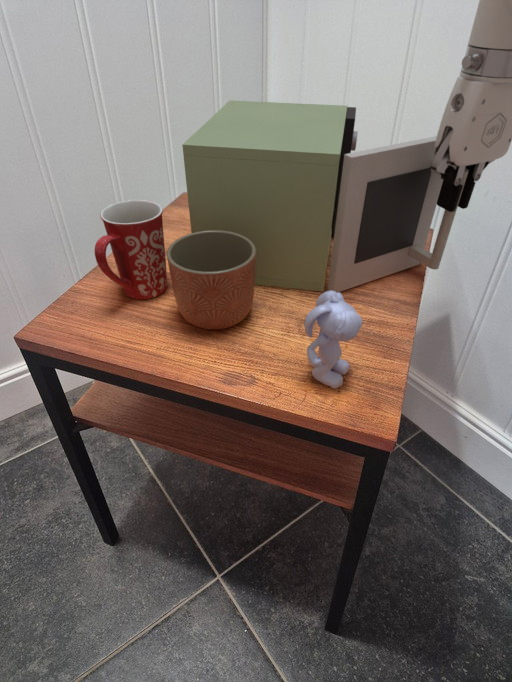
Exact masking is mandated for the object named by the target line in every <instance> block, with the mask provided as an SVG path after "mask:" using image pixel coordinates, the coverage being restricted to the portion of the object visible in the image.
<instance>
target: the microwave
mask: <svg viewBox="0 0 512 682" xmlns="http://www.w3.org/2000/svg"><path fill="white" fill-rule="evenodd" d="M356 115H357V107H356V106H348V105H340V104H318V103H317V104H315V103H297V102H296V103H293V102H270V101H268V102H267V101H249V100H229V101H227V102H226V103H225V104H224V105H223V106H222V107H220V109H219V110H217V112H215V113H214V114H213V115H212V116H211V117H210V118H208V120H206V122H205V123H204V124H203V125H201V126H200V127H199V128H198V129H197V130H196V131H195V132H194V133H193V134H192V135H191V136H190V137H189V138H188V139H186V141H184V142H183V143H182V155H183V165H184V175H185V183H186V184H185V185H186V193H187V203H188V212H189V213H188V214H189V222H190V230H191V231H190V232H191V233H195V232H200V231H208V230H221V231H229V232H234V233H237V234H240V235H242V236H244V237H246V238H248V239H249V240H250V241H251V242H252V243H253V244H254V246H255V248H256V261H255V285H254V286H265V287H275V288H285V289H292V290H293V289H294V290H303V291H312V292H321V293H324V292H325V284H326V279H327V277H326V276H327V271H328V265H329V264H328V263H329V257H330V248H331V240H332V237H334V233H335V225H336V217H337V209H338V201H339V193H340V185H341V177H342V170H343V162H344V154H348V153H352V151H353V152H356V148H357V142H358V134H359V131H358V130H355V124H356V117H357V116H356ZM191 233H190V234H191Z"/></svg>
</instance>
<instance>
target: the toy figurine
mask: <svg viewBox="0 0 512 682" xmlns="http://www.w3.org/2000/svg"><path fill="white" fill-rule="evenodd" d="M315 323H317V326H318V327H319V332H318V336H316V337H317V338H315V340H313V341H312V342H311V343H310V344H309V345H308V347H307V348H306V357H307V359H308V362H309V364H310V365H311V366H312V367H313V369H312V370H311V375H312V377H313V378H314V379H315V380H316V381H317V382H319V383H321V384H323V385H325V386H328V387H330V388H331V389H338V388H339V387H342V386H343V384H344V378H343V376H342V375H346V374H347V373H348V372H349V371H350V364H349V361H347V360H345V359H342V358H341V357H342V356H343V353H342V352H343V351H342V348H341V344H340V342H348V341H351V340H354V339H355V338H356V337H357V336H358V334H359V333H360V330H361V328H362V326H363V320H362V317H361V315H360V314H359V313H358V312H357V310H356V309H355V308H354V307H353V306H352V305H351V304H350V303H348V302H346V301H345V298H344V296H343V295H342V292H338V293H336V292H335V291H333V290H330V291H329V290H326V291H324V292H322V293H321V294H320V295H319V296H318V297H317V299H316V302H315V306H314V308H312V309H311V310H310V311H309V312H308V313H307V315H306V317H305V319H304V331H305V333H306V336H307V337H308V338H312V337H313V328H314V325H315ZM317 348H318V354H317V351H316V349H317Z"/></svg>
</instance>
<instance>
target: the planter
mask: <svg viewBox="0 0 512 682" xmlns="http://www.w3.org/2000/svg"><path fill="white" fill-rule="evenodd" d="M166 260H167V264H168V269H169V270H168V271H169V275H170V281H171V285H172V291H173V294H174V299H175V303H176V306H177V308H178V309H177V310H178V311H179V313H180V315H181V316H182V318H183V319H184V320H185V321H187V322H188V323H189V324H191V325H193V326H195V327H198V328H199V329H205V330H222V329H223V330H224V329H227V328H231V327H233V326H235V325H238V324H239V323H241V322H242V321H243V320H244V319H245V318H246V317H247V316H248V315H249V314H250V311H251V309H252V306H253V302H254V296H255V286H256V285H255V261H256V248H255V246H254V244H253V243H252V242H251V241H250V240H249V239H248V238H246V237H244V236H242V235H240V234H237V233H234V232H229V231H221V230H208V231H200V232H195V233H188V234H185V235H183V236H181V237H178V238H177V239H176V240H174V241H173V242H172V243H171V244H170V245H169V247H167V251H166Z"/></svg>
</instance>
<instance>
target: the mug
mask: <svg viewBox="0 0 512 682" xmlns="http://www.w3.org/2000/svg"><path fill="white" fill-rule="evenodd" d="M163 213H164V209H163V207H162V205H160V204H159V203H158V202H155V201H151V200H147V199H127V200H122V201H118V202H114V203H112V204H109V205H107V206H106V207H104V208H103V209H102V210H101V211H100V213H99V217H100V220H101V221H102V222H103V225H104V229H105V232H106V235H103V236H101V237H99V238H98V240H97V241H96V243H95V246H94V257H95V262H96V264H97V266H98V268H99V269H100V270H101V272H102V273H103V274H104V275H105V276H106V277H107V278H109V279H110V280H111V281H113V282H114V283H115V284H117V285H119V286H121V287H122V289H123V292H124V294H125V296H127V297H129V298H131V299H135V300H148V299H153V298H157V297H158V296H161V295H162V294H164V293H165V292H166V290H168V273H167V272H168V271H167V256H166V248H165V247H166V246H165V236H164V225H163V224H164V223H163ZM108 246H110V249H111V252H112V255H113V259H114V263H115V266H116V269H117V272H118V275H117V274H116V273H114V272H113V270H112V268H111V267H110V266H109V264H108V263H109V262H108V259H107V249H108Z"/></svg>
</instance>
